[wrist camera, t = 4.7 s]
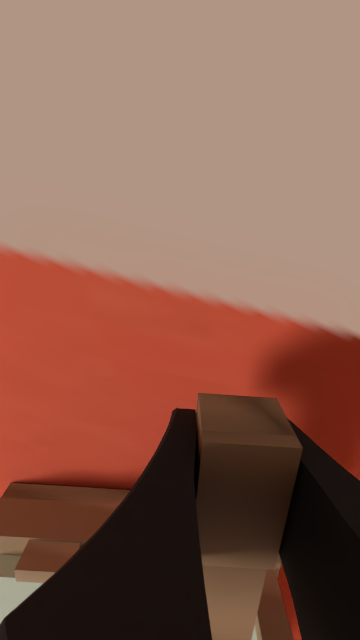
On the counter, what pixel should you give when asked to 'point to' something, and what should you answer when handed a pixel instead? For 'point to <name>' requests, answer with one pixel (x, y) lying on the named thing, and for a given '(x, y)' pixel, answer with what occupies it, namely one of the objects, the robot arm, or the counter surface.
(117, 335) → the counter surface
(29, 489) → the box
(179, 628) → the robot arm
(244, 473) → the brown rectangular bar
